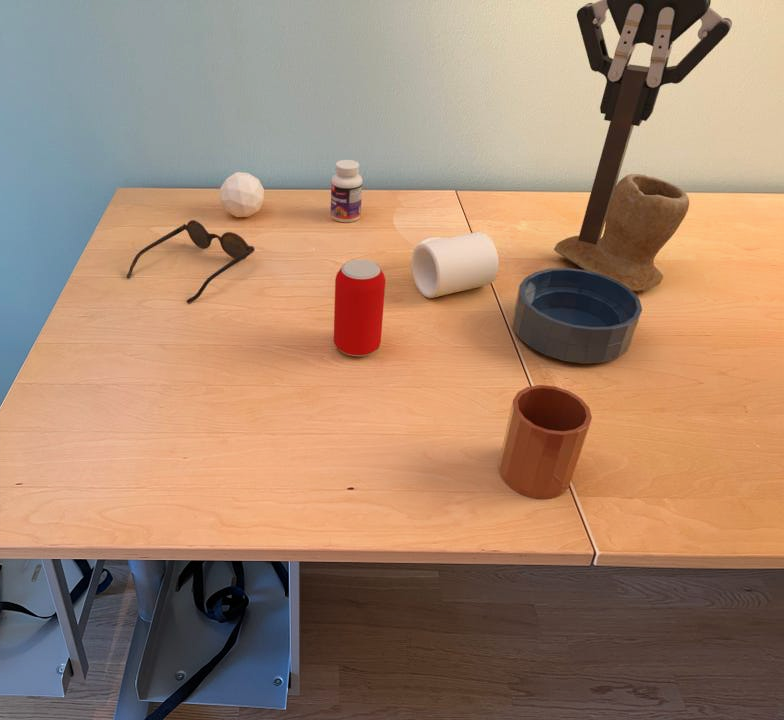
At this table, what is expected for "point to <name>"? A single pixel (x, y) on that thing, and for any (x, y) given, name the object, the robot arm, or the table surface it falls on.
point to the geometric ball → (242, 194)
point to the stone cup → (632, 232)
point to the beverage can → (358, 307)
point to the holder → (543, 441)
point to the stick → (613, 153)
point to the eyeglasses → (203, 239)
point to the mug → (454, 264)
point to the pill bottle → (346, 192)
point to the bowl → (576, 315)
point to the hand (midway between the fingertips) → (623, 120)
